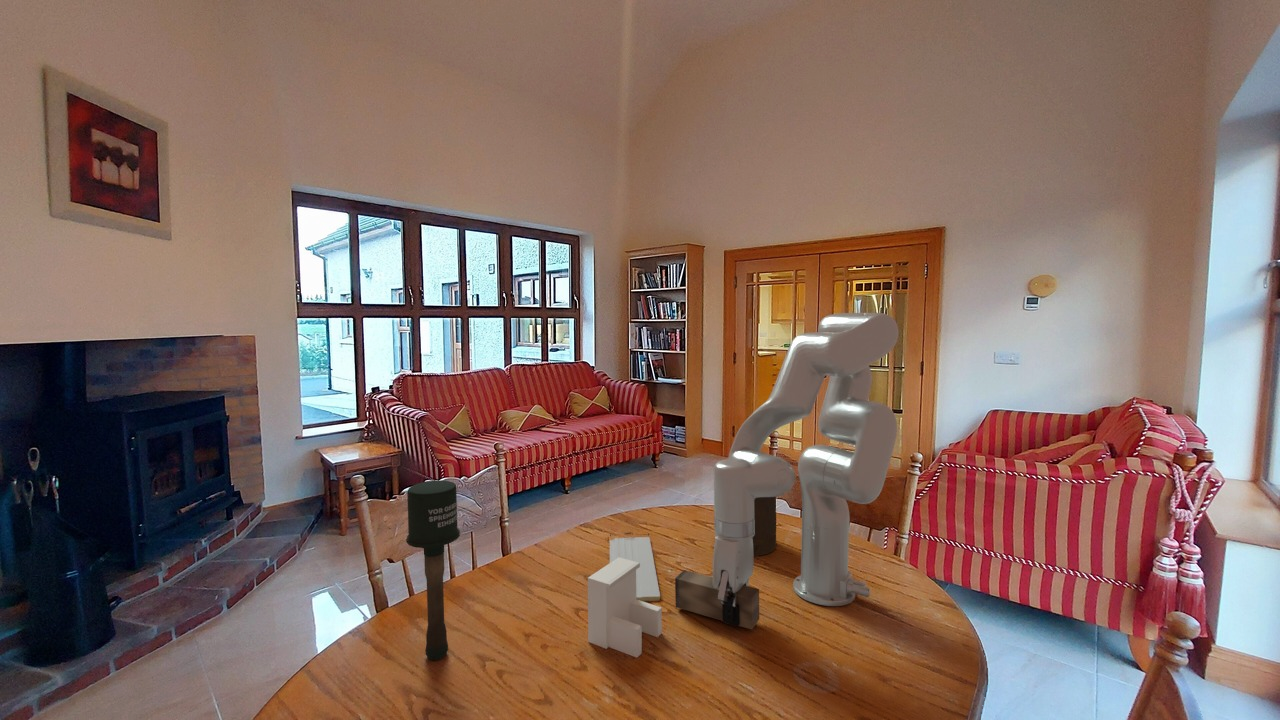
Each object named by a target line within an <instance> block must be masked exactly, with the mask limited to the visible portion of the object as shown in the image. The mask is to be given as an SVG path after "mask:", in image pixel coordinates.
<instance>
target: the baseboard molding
mask: <svg viewBox="0 0 1280 720" xmlns="http://www.w3.org/2000/svg"><path fill="white" fill-rule="evenodd" d="M624 535H632V532H629V531H628V532H624ZM639 535H641V536H643V535H648V536H643V537H640V536H639ZM649 535H650V533H648V534H646V533H645V534H643V533H641V534H637V537H631V536H630V537H615V538H613V539H609V537H606V538H604V539H605V540H607V542H608V541H609V563H611V562H612V561H614V560H615V559H617V558H618V557H620V558H624V559H627V560H631V561H635V562H638V563H640V567H639V568H638V569H636V600H640V601H643V602H658V601H659V602H660V600H661V593H660V588H659V582H658V576H657V571H656V566H655V565H656V564H655V559H654V555H653V548H652V544H651V537H649ZM609 536H610V537H612V534H609ZM638 536H639V537H638Z"/></svg>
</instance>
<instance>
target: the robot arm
mask: <svg viewBox="0 0 1280 720" xmlns="http://www.w3.org/2000/svg"><path fill="white" fill-rule="evenodd" d="M817 327H818V328H817V331H816V332H814V331H813V332H803V333H800V334H798V335H796V336H795V337H794V338H793V339H792V341H791V342H790V344H789V347H788V349H787V351H786V354H785V357H784V360H783V362H782V365H781V368H780V370H779V372H778V375H777V377H776V381H775V383H774V385H773V388H772V390H771V393H770V395H769V397H768V398H767V400H766V401H765V402H764V403H762V404H761V405H760V406H759V407H758V408H756V409H755V410H754V411H753V412H752V413H751V414H750V415H749V417H747V418H746V420H744V422H742V424H741V426H740V427H739V429H738V430H737V432H736V435H735V436H734V439H733V442H732V445H731V447H730V451H729V453H728V458H725V459H722V460H718V461H717V462H716V463H715V464H714V466H713V511H714V512H713V514H714V515H713V517H714V518H713V520H714V527H713V529H714V534H715V540H714V546H713V554H712V555H713V556H712V577H713V587H714V588H718V587H719V586H720V588H719V593H718V599H719V600H721V603H722V613H723V621H722V623H723V624H728V625H730V626H733V627H740V626H739V624H740V619H739V605H737V601H738V591H739V590H740V589H741V588H742V586H743V585H745V586H749V587H750V584H749V580H750V578H751V577H752V575H753V572H754V564H755V563H754V561H755V558H754V557H755V556H754V553H753V538H752V537H753V536H754V535H755V517H754V499H755V498H760V497H776V498H777V497H780V496H784V495H786V494H787V493H788V492H789V491H791V489H792V488H793V487H794V484H795V481H796V472H795V469H794V466H792V464H791V463H790V462H788V461H787V460H785V459H783V458H782V457H778V456H776V455H772V454H769V453H767V452H762V451H761V450H762V448H763V446H764V443H765V442H766V440H767V439H768V437H769V436H770V435H771V434H773V433H774V432H775V431H776V430H778V429H780V428H782V427H783V426H786V425H788V424H791V423H794V422H796V421H799V420H802V419H805V418H807V417H808V416H810V414H812V412H813V408H814V406H815V403H816V402H817V401H816V400H817V398H818V395H819V392H820V389H821V387H822V384H823V381H824V379H825V377H826V376H828V377H829V380H828V382H827V383H828V385H827V388H826V392H825V396H824V399H823V401H822V402H823V403H822V405H821V409H820V413H819V418H818V423H817V424H818V430H819V432H820V434H822V436H824V437H825V438H826V439H829V440H831V441H834V442H839V443H842V444H847V445H851V446H854V451H849V450H846V449H844V448H840V447H837V446H836V447H835V446H830V445H826V444H816V445H815V444H814V445H811V446H808V447H806V448H805V449H804V450H803V452H801V454H800V456H799V459H798V462H797V463H798V464H797V471H798V478H799V479H798V480H799V485H800V490H801V501H802V502H801V507H802V509H801V510H802V511H801V546H800V547H801V551H800V575H798V576H796V577H795V578H794V580H793V584H792V586H793V587H792V588H793V591H794V592H795V594H796V595H798V596H799V597H801V598H802V599H803V600H805V601H807V602H809V603H812V604H816V605H819V606H820V605H821V606H827V607H840V606H846V605H849V604H850V603H852V602H854V600H855V598H856V595H858V596H861V597H865V598H870V594H871V588H870V587H868V586H867V585H866V582H864V581H860V580H855V579H854V578H852V571H851V570H850V571H849V549H850V548H849V546H850V545H849V544H850V510H849V509H850V508H849V505H848V502H847V501H850V502H852V503H856V504H860V505H867V504H870V503H873V502H874V501H875V500H876V499H877V498H878V497H879V495H880V494H881V492H882V490H883V488H884V484H885V481H886V478H887V473H888V469H889V466H890V463H891V460H892V457H893V456H892V455H893V453H894V447H895V444H896V440H897V435H898V422H897V417H896V415H895V413H894V411H893V409H892V408H890V407H889V406H887V404H884V403H881V402H877V401H872V400H869V399H870V394H871V389H872V384H873V374H872V371H871V368H870V365H872V364H874V363H875V362H877V361H879V360H881V359H882V358H884V357H885V356H887V355H888V354H889V353H890V352H891V351H892V350H893V349H894V348H895V346H896V345H897V342H898V338H899V332H900V331H899V326H898V323H897V321H896V320H895V319H894V317H892V316H891V315H889V314H886V313H884V312H883V313H882V312H840V313H839V312H838V313H833V314H828V315H826V316H825V317H823V318H822V319H821V320H820V322H819V323H818V326H817ZM729 585H730V586H731V587H729ZM727 592H731V593H733V598H732V597H731V596H729V595H728V594H727Z"/></svg>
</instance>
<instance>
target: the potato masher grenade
mask: <svg viewBox="0 0 1280 720" xmlns="http://www.w3.org/2000/svg"><path fill="white" fill-rule="evenodd" d="M406 494H407V498H406V499H407V523H408V524H407V526H408V529H407V530H408V534H407V536H406V539H405V542H406V544H407V545H408V546H410V547H413V548H419V549H423V556H424V559H423V561H424V576H425V580H426V601H427V602H426V604H427V607H426V610H427V629H426V633H425V634H426V636H425V637H426V638H425V639H426V643H425V644H426V645H425V650H424V651H425V652H424V653H425V656H426V657H427V659H428V660H430V661H439V660H441V659H443V658H444V657H445V656H446V655H447V654H448V651H449V643H448V639H447V638H448V636H447V632H448V631H447V628H446V624H445V623H446V622H445V606H444V605H445V603H444V601H445V600H444V599H445V598H444V596H445V595H444V575H445V545H449V544H452V543H453V542H455V541H457V539H458V538H460V536H461V531H460V529H459V528H458V505H457V504H458V503H457V502H458V499H457V484H456V483H454V482H453V481H450V480H430V481H429V480H428V481H423V482H418V483H416V484H413V485H411V486H410V487H408V489H407V492H406Z"/></svg>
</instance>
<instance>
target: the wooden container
mask: <svg viewBox="0 0 1280 720" xmlns="http://www.w3.org/2000/svg"><path fill="white" fill-rule="evenodd" d="M754 517H755V535H754V536H753V537H752V538H753V553H754V557H759V556H764V555H769V554H771V553H773V552H774V551H775V550H776V549H777V548H776V547H777V497H760V498H755V499H754Z"/></svg>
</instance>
